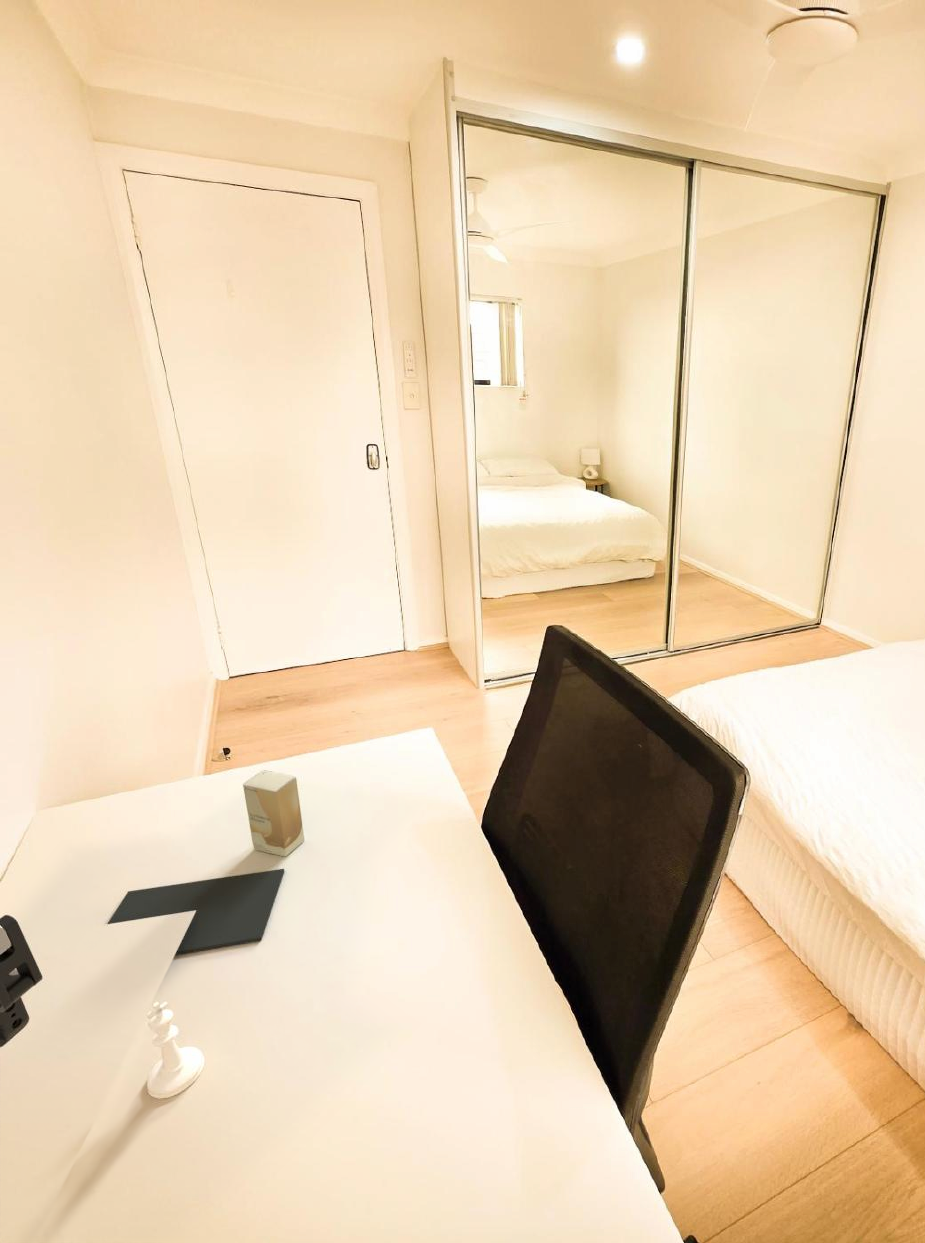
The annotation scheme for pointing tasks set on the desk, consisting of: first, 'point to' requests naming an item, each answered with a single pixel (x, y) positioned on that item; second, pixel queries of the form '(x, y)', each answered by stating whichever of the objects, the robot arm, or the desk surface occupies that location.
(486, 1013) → the desk surface
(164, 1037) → the chess piece
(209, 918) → the mat
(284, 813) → the cosmetic box
